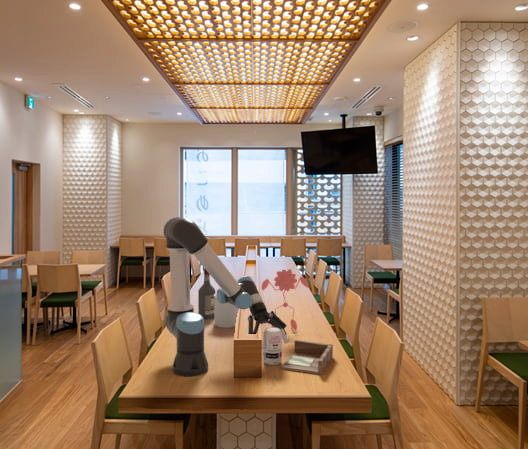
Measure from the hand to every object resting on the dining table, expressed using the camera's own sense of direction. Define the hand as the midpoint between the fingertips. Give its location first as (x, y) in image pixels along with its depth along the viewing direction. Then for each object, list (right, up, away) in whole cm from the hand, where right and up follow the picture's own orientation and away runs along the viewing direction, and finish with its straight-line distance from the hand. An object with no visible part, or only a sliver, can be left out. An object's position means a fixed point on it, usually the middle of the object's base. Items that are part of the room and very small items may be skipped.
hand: (275, 345), depth 203 cm
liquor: (-40, -2, +74) cm, 84 cm away
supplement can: (-1, -8, +1) cm, 8 cm away
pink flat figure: (+6, -5, +44) cm, 45 cm away
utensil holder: (-27, -4, +59) cm, 65 cm away
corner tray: (+15, -8, 0) cm, 17 cm away
